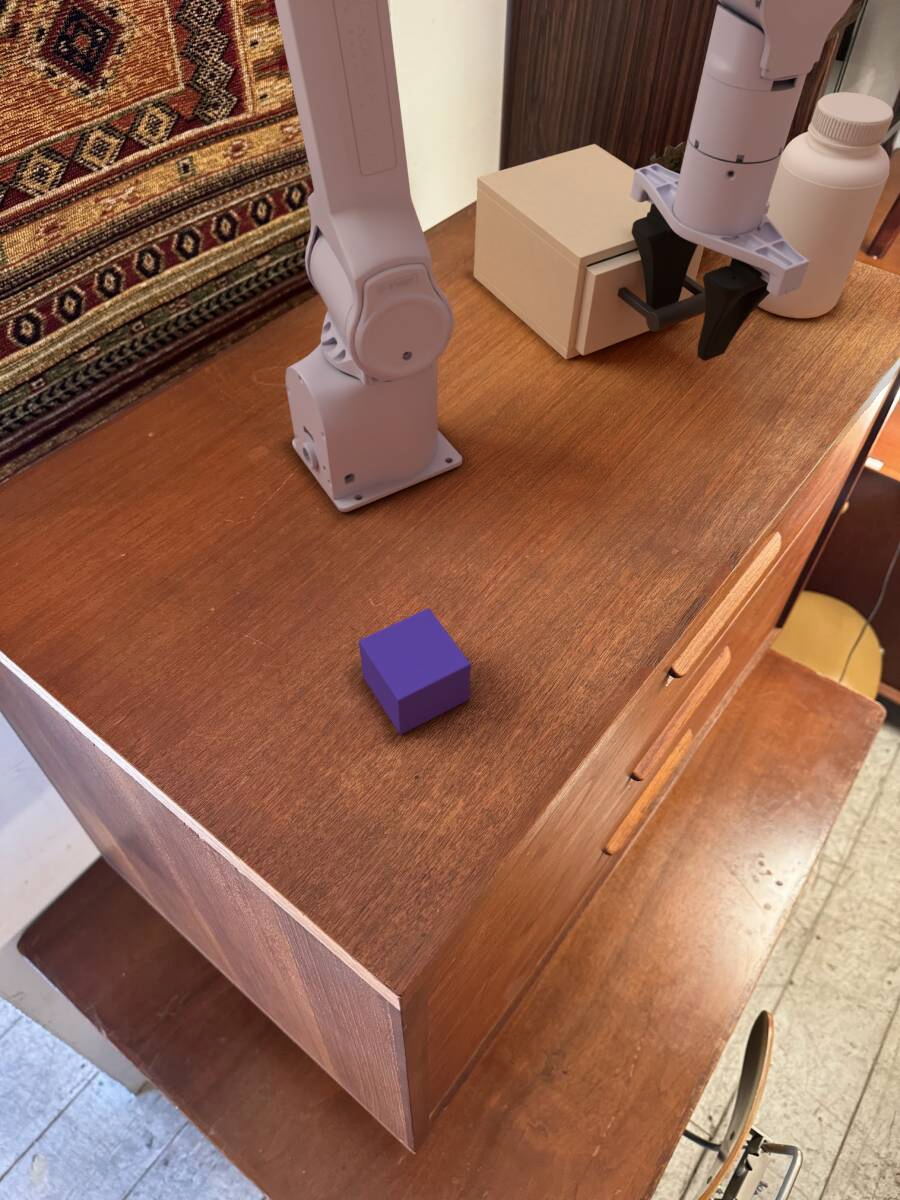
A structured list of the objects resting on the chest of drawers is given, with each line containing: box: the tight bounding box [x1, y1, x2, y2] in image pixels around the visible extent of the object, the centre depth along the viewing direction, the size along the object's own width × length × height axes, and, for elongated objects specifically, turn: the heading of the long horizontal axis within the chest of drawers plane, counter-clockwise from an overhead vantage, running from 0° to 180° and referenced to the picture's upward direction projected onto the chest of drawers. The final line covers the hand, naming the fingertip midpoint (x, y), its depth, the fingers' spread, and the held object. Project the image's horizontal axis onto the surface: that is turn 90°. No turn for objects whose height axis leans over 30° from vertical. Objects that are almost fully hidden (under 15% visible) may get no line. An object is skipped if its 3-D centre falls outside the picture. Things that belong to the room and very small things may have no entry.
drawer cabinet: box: [473, 143, 651, 361], centre depth 70 cm, size 14×12×9 cm
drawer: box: [574, 245, 706, 356], centre depth 67 cm, size 17×10×7 cm, turn 31°
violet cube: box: [358, 607, 471, 735], centre depth 47 cm, size 4×4×4 cm
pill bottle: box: [757, 91, 894, 319], centre depth 68 cm, size 8×8×15 cm
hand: (684, 334), depth 63 cm, fingers open, 5 cm apart
